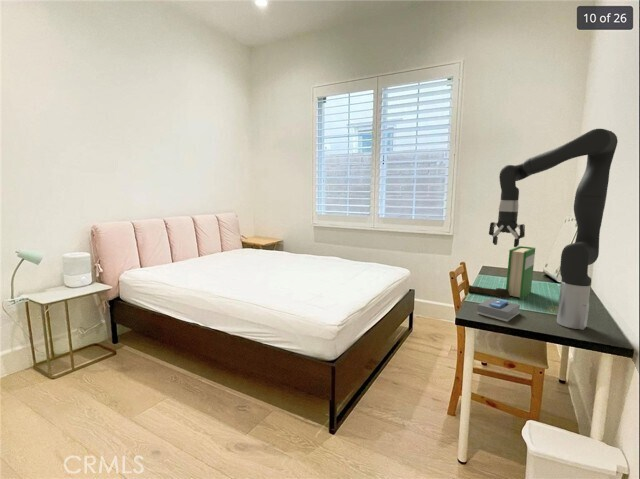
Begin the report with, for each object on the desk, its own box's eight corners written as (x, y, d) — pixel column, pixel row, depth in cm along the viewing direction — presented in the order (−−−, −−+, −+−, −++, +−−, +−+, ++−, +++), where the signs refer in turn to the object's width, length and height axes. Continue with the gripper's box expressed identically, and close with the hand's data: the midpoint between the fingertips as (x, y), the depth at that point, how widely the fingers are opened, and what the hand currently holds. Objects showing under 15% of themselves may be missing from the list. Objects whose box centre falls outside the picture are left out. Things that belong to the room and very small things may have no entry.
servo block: (507, 310, 146) (508, 299, 145) (498, 315, 139) (499, 304, 139) (498, 308, 149) (499, 297, 148) (489, 313, 142) (490, 302, 141)
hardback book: (521, 299, 163) (526, 251, 160) (505, 296, 168) (509, 249, 165) (530, 292, 176) (535, 247, 172) (515, 289, 181) (519, 246, 177)
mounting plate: (518, 313, 144) (519, 304, 144) (507, 321, 135) (507, 312, 134) (490, 306, 153) (490, 298, 153) (477, 313, 144) (477, 304, 143)
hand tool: (467, 293, 174) (468, 284, 173) (469, 291, 177) (469, 282, 176) (508, 300, 163) (509, 291, 162) (509, 298, 166) (510, 289, 166)
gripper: (528, 210, 146) (525, 247, 149) (495, 209, 157) (492, 243, 159) (523, 211, 142) (519, 248, 144) (488, 209, 152) (485, 244, 154)
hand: (505, 245), depth 152 cm, fingers open, 8 cm apart
